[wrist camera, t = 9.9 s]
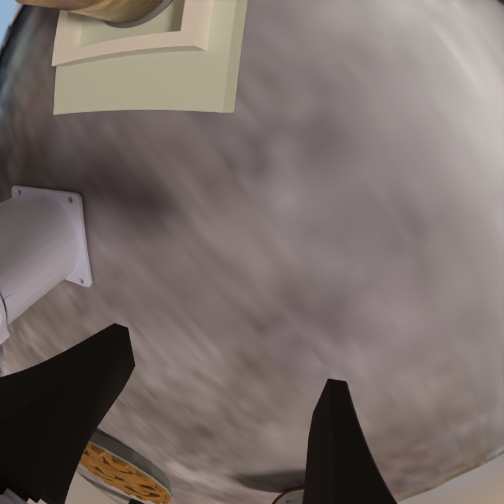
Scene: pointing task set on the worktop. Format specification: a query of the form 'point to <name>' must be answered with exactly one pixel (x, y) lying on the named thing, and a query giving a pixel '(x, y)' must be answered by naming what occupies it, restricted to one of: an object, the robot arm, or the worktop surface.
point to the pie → (125, 469)
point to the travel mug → (135, 502)
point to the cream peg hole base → (151, 59)
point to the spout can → (102, 8)
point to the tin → (290, 496)
